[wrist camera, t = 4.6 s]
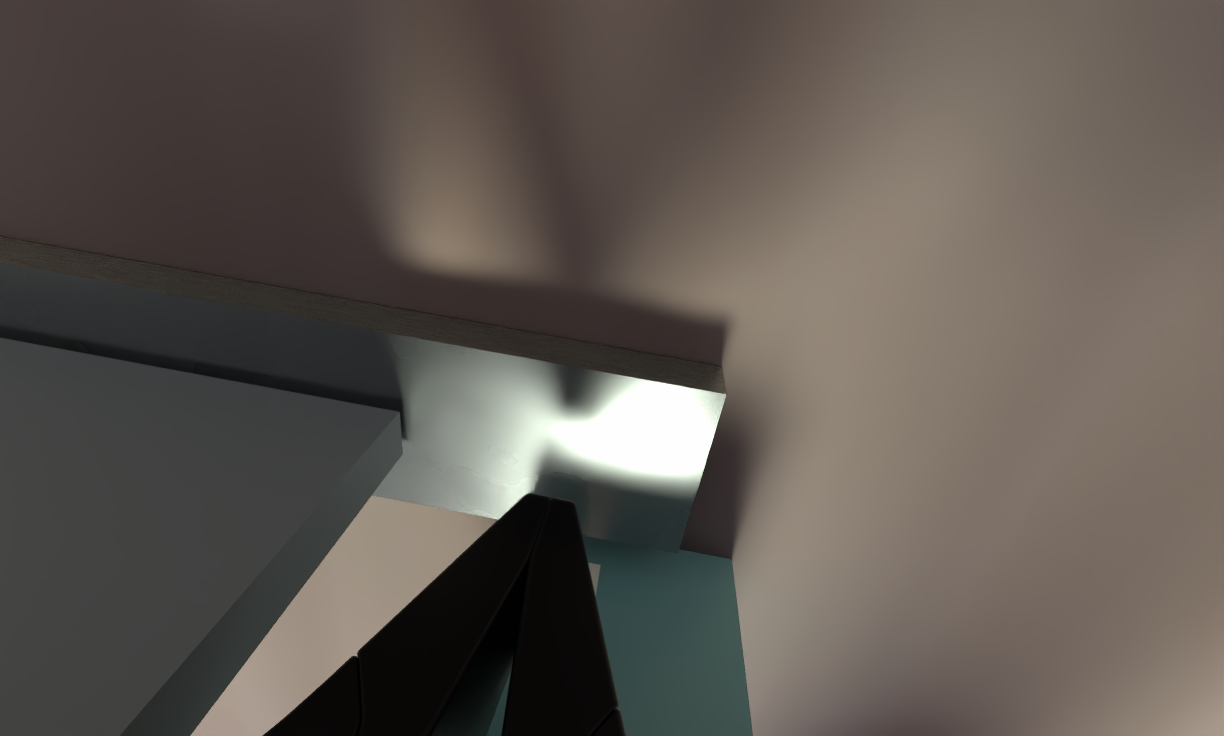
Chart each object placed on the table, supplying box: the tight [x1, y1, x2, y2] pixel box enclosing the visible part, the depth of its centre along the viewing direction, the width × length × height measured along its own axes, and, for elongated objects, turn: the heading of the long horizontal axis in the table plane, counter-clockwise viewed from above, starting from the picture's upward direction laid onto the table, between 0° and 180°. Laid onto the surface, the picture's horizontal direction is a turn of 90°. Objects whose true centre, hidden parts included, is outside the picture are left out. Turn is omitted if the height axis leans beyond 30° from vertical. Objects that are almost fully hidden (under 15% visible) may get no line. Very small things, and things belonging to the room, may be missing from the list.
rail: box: [0, 237, 726, 554], centre depth 10 cm, size 21×4×1 cm, turn 82°
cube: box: [487, 535, 753, 736], centre depth 11 cm, size 5×5×5 cm
